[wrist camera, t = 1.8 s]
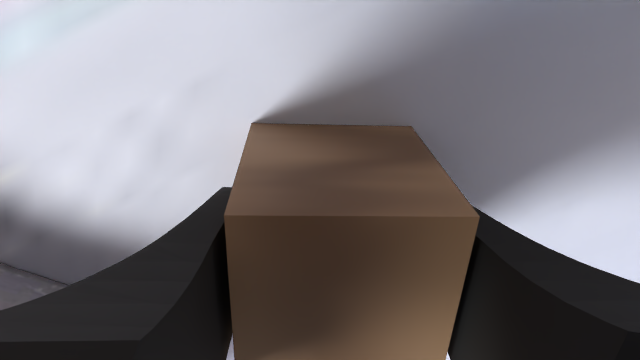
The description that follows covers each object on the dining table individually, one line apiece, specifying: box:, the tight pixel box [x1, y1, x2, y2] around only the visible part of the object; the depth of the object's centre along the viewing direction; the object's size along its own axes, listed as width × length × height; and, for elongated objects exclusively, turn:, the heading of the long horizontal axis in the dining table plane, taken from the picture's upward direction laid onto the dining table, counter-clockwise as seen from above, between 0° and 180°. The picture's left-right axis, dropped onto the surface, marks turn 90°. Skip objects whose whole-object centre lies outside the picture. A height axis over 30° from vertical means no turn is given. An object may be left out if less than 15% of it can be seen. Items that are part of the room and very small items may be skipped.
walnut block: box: [224, 123, 480, 360], centre depth 11 cm, size 4×4×5 cm
